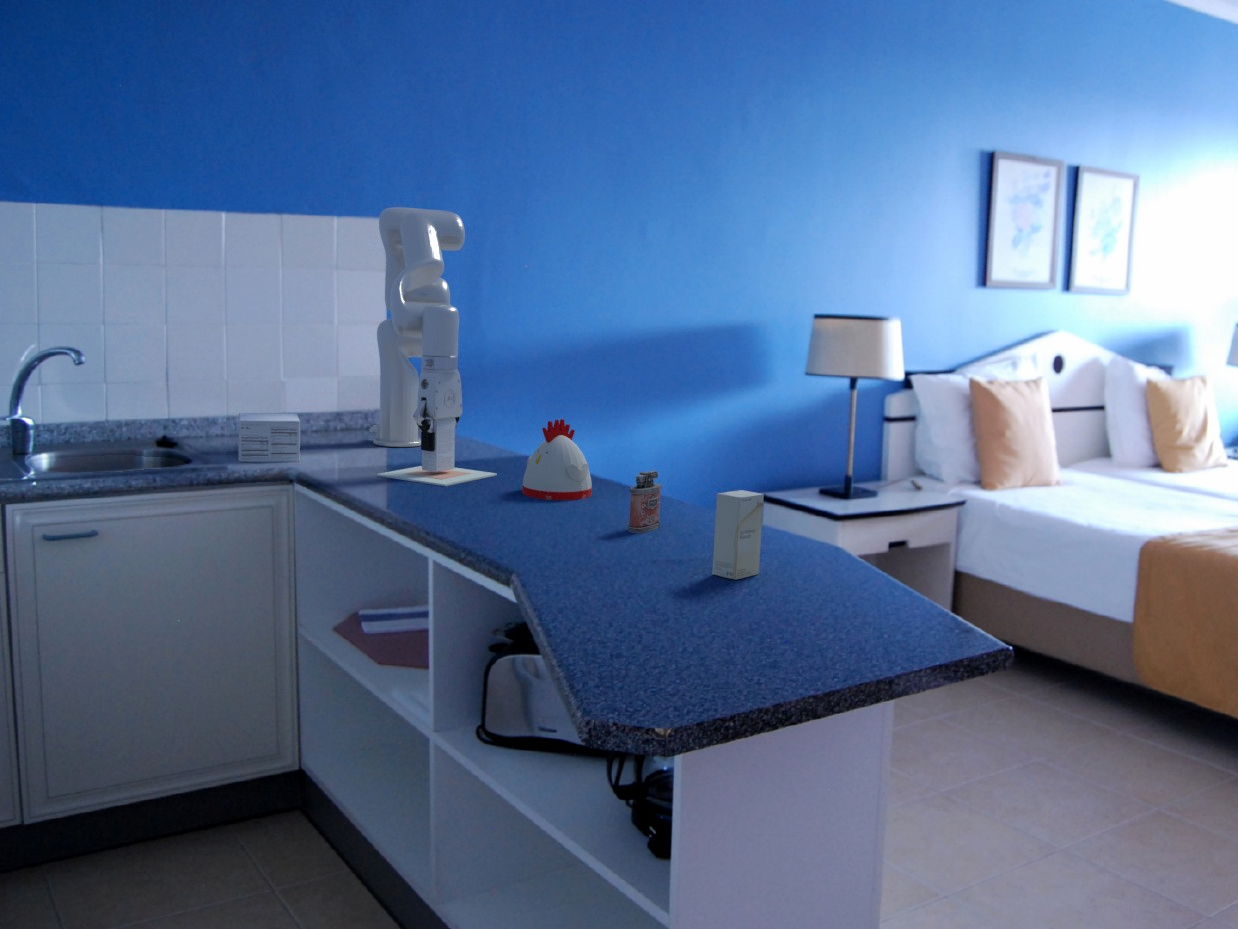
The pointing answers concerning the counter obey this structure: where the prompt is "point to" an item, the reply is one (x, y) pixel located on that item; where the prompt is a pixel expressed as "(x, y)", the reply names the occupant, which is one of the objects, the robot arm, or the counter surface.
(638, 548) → the counter surface
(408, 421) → the robot arm
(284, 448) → the supplement box
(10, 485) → the counter surface
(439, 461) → the skincare box
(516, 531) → the counter surface
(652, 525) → the lighter
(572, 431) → the kitchen timer
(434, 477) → the square coaster
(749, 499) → the skincare box
